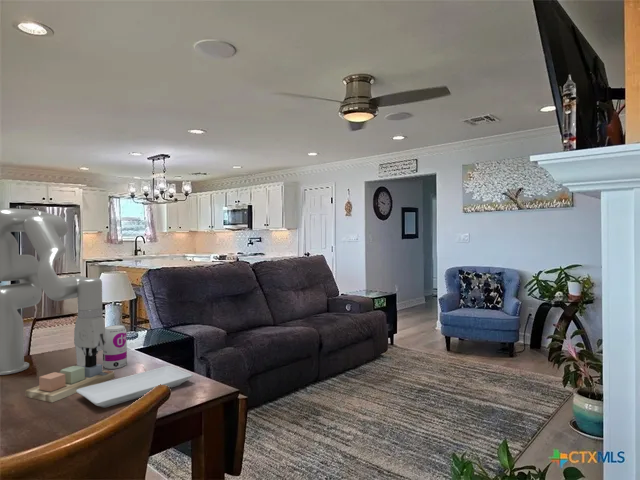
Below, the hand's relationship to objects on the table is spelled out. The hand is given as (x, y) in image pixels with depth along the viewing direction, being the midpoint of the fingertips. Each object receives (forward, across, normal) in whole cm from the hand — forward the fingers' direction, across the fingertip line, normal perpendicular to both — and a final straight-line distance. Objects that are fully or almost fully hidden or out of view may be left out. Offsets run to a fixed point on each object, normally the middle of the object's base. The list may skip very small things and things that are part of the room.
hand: (90, 365), depth 147 cm
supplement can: (+5, -4, +14) cm, 15 cm away
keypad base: (+5, 0, -7) cm, 8 cm away
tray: (+5, +23, -2) cm, 23 cm away
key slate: (+4, 0, 0) cm, 4 cm away
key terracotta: (+3, 0, -14) cm, 14 cm away
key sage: (+3, 0, -7) cm, 8 cm away
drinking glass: (+5, -15, +10) cm, 19 cm away
